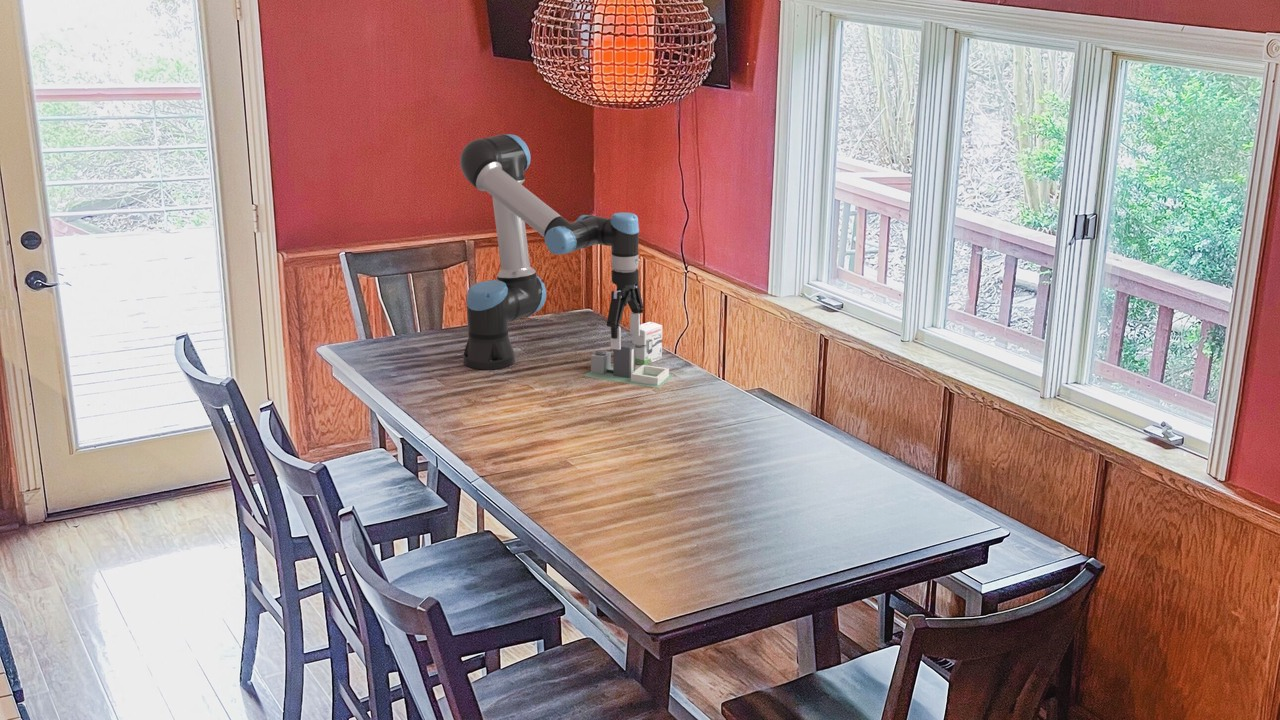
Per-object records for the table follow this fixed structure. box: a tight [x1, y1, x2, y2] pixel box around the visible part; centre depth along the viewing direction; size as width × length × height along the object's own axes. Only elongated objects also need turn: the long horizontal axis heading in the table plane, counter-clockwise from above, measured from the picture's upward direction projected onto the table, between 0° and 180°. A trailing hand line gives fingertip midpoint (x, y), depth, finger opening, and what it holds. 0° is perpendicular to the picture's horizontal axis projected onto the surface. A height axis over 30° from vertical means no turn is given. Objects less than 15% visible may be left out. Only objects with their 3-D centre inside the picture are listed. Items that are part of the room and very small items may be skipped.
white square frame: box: [631, 364, 670, 386], centre depth 353 cm, size 8×9×2 cm
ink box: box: [631, 321, 663, 366], centre depth 367 cm, size 9×5×12 cm, turn 140°
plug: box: [612, 341, 636, 378], centre depth 354 cm, size 5×4×9 cm
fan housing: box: [590, 349, 613, 374], centre depth 358 cm, size 6×5×6 cm
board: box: [583, 364, 674, 389], centre depth 356 cm, size 23×12×1 cm, turn 67°
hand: (625, 342), depth 353 cm, fingers open, 13 cm apart
